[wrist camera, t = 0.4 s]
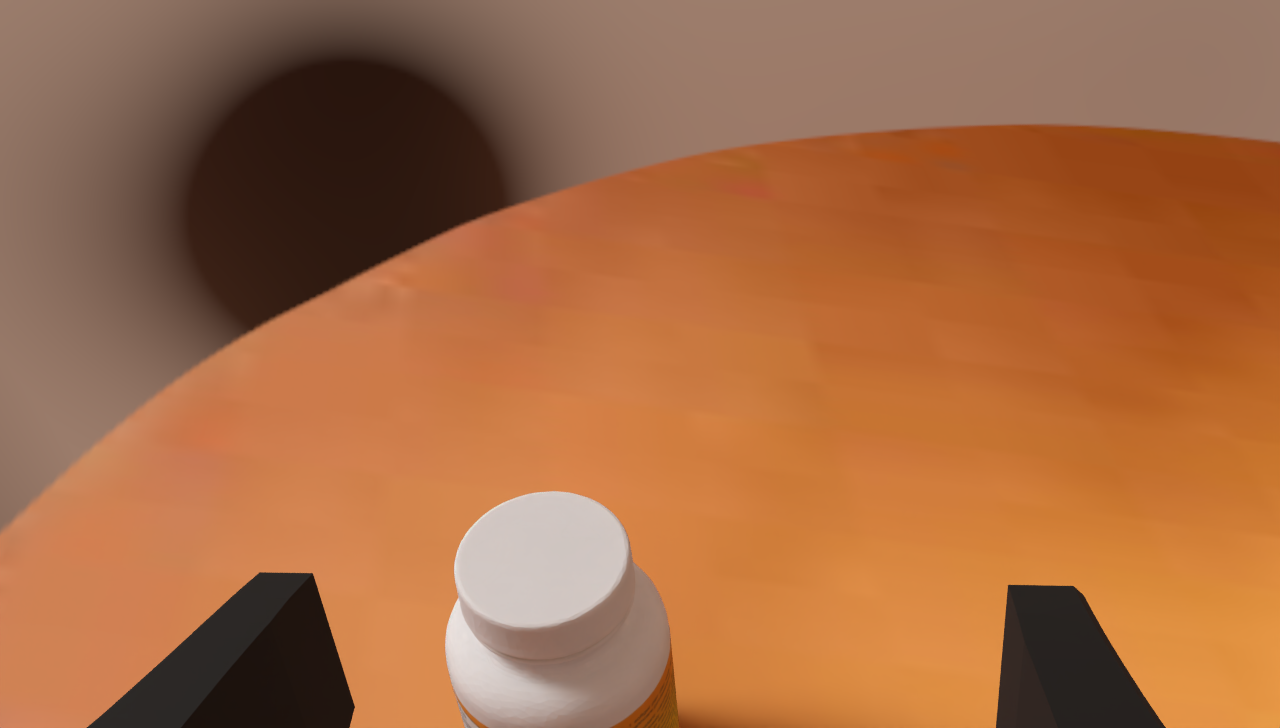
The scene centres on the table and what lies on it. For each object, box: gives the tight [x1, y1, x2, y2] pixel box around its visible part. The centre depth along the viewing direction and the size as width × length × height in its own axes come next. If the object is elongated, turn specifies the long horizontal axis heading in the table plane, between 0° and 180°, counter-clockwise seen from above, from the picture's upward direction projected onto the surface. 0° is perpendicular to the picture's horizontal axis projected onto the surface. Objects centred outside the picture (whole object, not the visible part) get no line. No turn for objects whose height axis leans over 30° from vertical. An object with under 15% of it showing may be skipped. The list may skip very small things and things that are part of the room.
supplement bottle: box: [445, 491, 679, 728], centre depth 30 cm, size 5×5×10 cm
